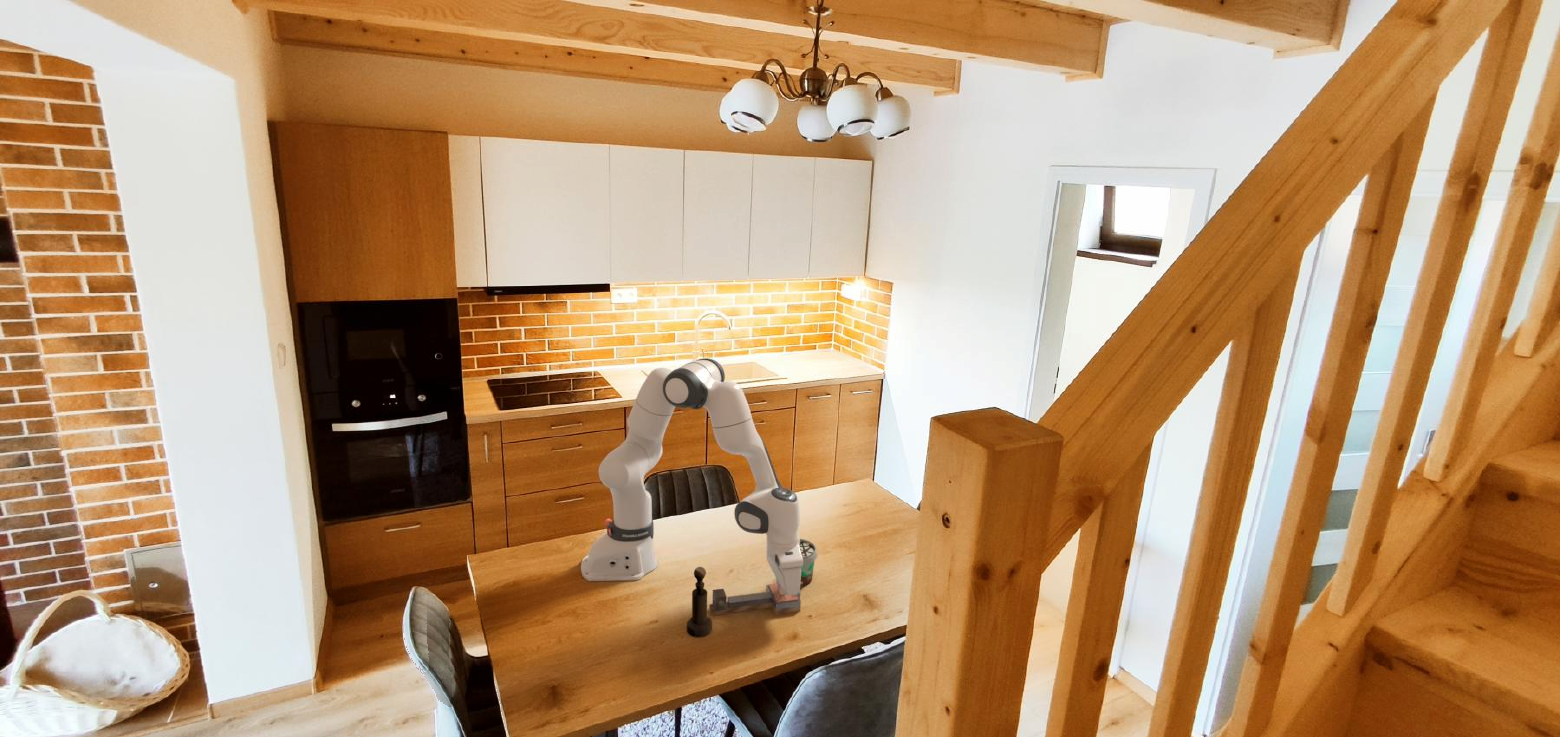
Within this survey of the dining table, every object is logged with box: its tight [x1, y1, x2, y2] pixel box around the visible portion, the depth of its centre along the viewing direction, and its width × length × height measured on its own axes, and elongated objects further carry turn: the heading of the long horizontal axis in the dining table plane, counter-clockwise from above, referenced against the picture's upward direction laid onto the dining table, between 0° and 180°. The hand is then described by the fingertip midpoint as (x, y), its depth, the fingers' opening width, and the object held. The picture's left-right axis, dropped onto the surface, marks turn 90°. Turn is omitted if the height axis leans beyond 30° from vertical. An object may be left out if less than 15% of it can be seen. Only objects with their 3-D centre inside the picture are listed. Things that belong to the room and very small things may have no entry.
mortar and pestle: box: [686, 566, 713, 638], centre depth 189 cm, size 7×6×18 cm
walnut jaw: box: [708, 588, 801, 616], centre depth 202 cm, size 25×10×6 cm, turn 106°
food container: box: [799, 538, 818, 588], centre depth 216 cm, size 12×6×10 cm, turn 168°
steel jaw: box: [727, 582, 802, 609], centre depth 203 cm, size 20×10×2 cm, turn 107°
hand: (781, 592), depth 204 cm, fingers closed, pressing on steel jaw
